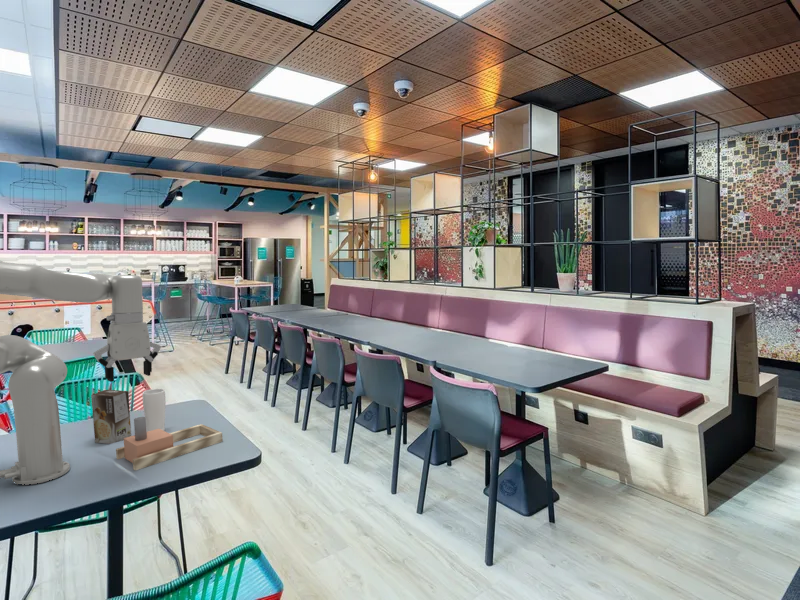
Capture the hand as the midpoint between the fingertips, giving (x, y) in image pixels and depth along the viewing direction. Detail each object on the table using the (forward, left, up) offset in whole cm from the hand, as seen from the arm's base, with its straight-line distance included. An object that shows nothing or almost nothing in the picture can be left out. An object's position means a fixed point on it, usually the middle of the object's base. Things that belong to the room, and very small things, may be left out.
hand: (129, 377), depth 133 cm
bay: (+10, -2, -25) cm, 27 cm away
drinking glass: (+14, +18, -25) cm, 34 cm away
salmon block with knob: (+3, -2, -24) cm, 24 cm away
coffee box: (+3, +24, -25) cm, 35 cm away
